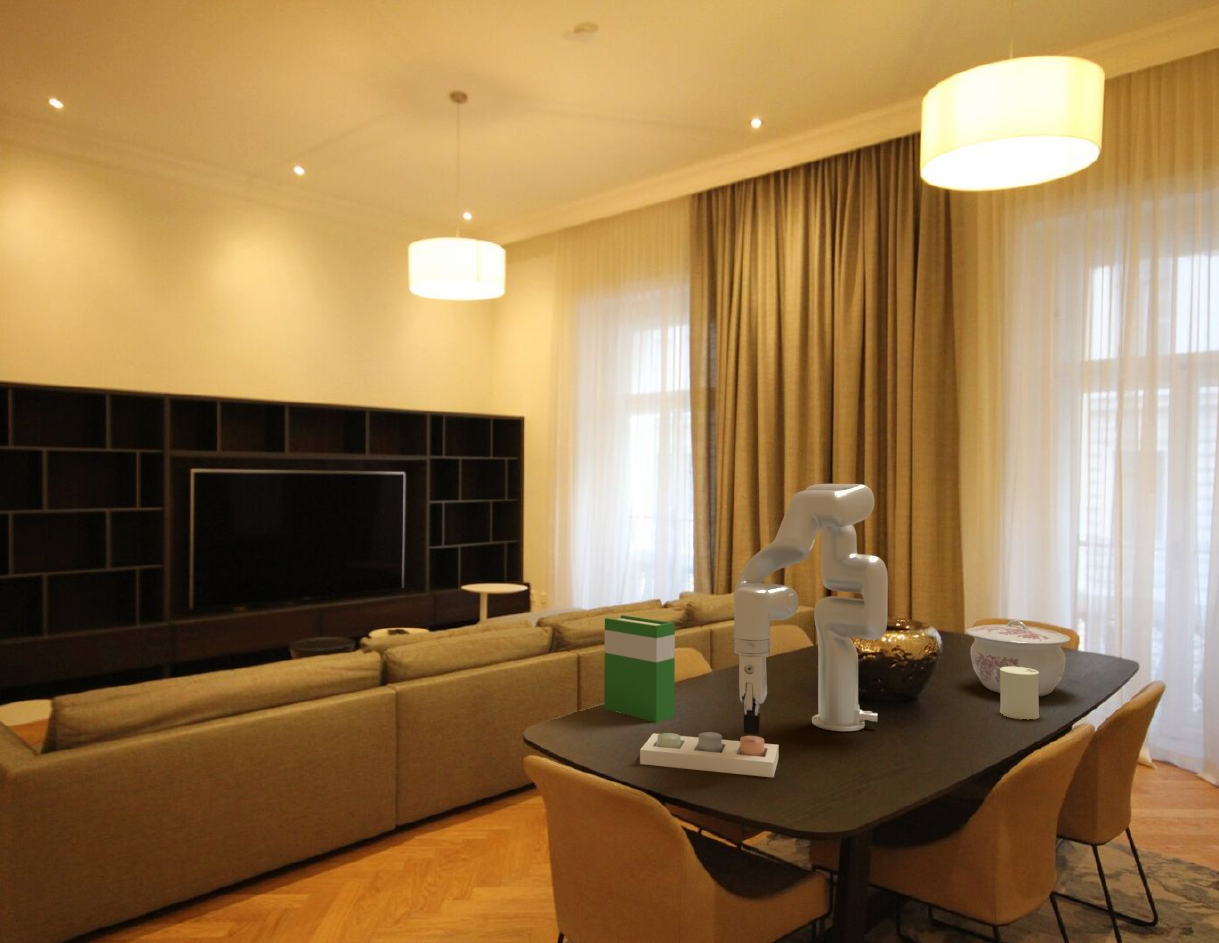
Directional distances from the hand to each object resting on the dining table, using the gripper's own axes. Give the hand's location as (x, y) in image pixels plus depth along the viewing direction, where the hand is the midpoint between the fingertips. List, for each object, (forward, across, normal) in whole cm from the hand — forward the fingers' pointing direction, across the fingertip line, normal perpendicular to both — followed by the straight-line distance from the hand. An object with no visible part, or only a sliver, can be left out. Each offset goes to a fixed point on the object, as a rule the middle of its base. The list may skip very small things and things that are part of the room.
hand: (751, 732), depth 175 cm
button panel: (+7, 0, +9) cm, 11 cm away
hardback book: (+7, +32, +33) cm, 47 cm away
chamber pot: (+6, +85, -66) cm, 108 cm away
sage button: (+7, 0, +18) cm, 19 cm away
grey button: (+5, 0, +9) cm, 10 cm away
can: (+7, +59, -62) cm, 86 cm away
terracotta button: (+5, 0, 0) cm, 5 cm away
